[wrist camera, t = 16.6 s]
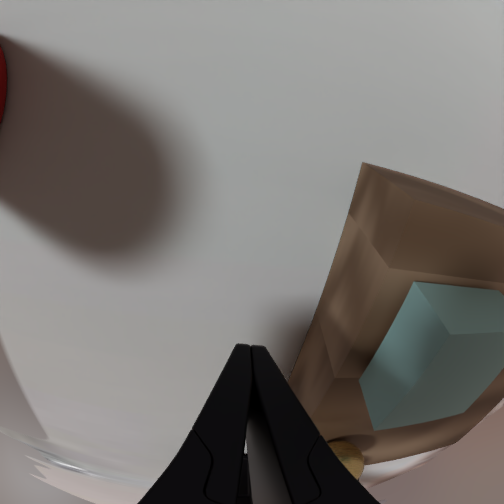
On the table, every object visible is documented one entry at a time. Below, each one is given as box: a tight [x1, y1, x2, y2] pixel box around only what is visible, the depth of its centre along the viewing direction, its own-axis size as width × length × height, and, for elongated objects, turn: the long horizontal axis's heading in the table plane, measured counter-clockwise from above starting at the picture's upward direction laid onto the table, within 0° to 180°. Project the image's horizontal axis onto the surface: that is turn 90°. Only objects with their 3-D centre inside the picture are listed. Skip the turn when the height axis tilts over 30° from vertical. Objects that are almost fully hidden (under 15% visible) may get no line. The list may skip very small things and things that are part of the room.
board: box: [288, 162, 504, 465], centre depth 15 cm, size 20×18×4 cm
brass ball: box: [327, 441, 364, 480], centre depth 14 cm, size 3×3×3 cm
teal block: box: [359, 281, 504, 431], centre depth 9 cm, size 5×5×2 cm
